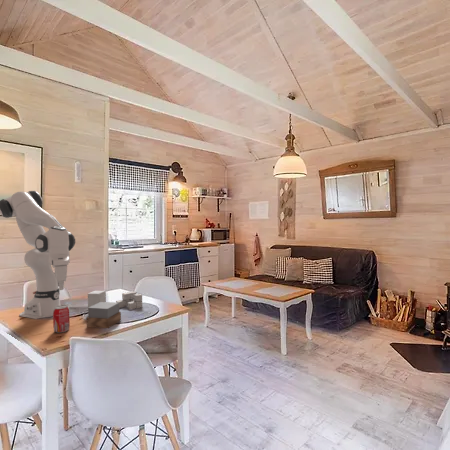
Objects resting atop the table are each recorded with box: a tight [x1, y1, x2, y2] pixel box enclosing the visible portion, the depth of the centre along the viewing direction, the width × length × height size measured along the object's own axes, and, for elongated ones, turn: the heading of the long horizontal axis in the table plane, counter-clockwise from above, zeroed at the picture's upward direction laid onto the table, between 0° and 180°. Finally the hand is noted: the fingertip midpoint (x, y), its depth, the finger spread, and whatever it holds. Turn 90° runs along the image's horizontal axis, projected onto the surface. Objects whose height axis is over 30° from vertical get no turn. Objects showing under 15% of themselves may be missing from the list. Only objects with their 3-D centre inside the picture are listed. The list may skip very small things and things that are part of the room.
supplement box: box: [87, 290, 107, 309], centre depth 181 cm, size 7×7×13 cm
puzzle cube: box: [115, 290, 143, 310], centre depth 194 cm, size 12×12×8 cm
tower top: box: [87, 301, 120, 319], centre depth 164 cm, size 11×11×5 cm
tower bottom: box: [86, 311, 122, 329], centre depth 165 cm, size 12×12×5 cm
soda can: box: [52, 304, 71, 334], centre depth 154 cm, size 7×7×12 cm
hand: (60, 288), depth 154 cm, fingers open, 8 cm apart
